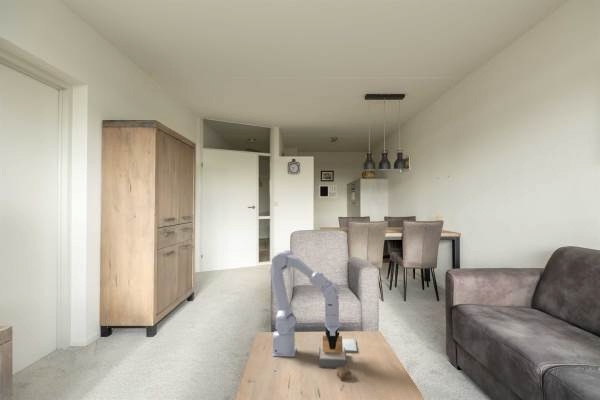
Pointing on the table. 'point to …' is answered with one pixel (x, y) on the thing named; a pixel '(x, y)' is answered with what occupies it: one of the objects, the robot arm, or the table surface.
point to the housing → (338, 345)
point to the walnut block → (344, 373)
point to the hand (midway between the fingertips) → (332, 346)
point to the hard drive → (349, 345)
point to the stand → (332, 359)
